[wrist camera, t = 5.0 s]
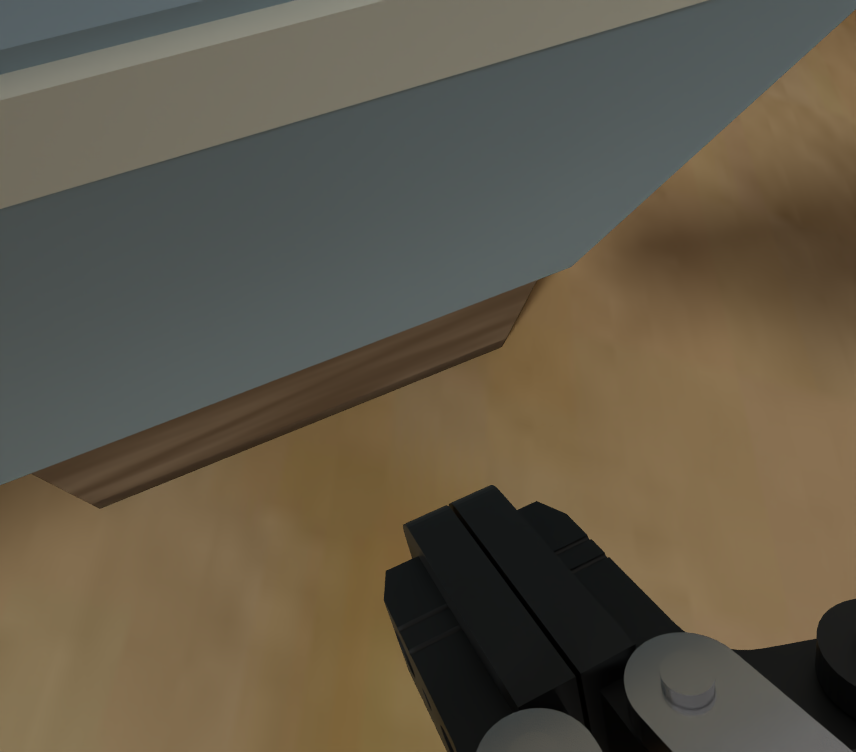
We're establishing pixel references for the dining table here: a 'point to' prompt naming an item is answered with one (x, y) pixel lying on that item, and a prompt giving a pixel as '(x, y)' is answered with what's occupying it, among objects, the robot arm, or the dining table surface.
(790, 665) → the robot arm
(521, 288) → the box
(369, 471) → the dining table surface
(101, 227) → the lid
